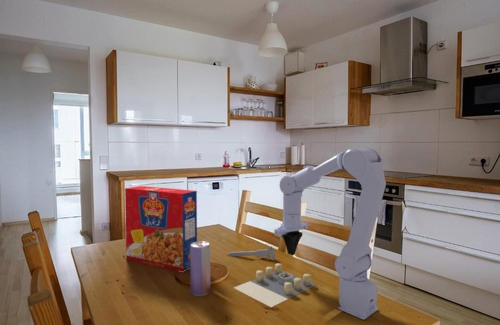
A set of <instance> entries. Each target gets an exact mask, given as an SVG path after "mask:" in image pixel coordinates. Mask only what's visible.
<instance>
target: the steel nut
mask: <svg viewBox="0 0 500 325" xmlns="http://www.w3.org/2000/svg"><path fill="white" fill-rule="evenodd" d="M288 273H289V272H286V273H279V275H278V283H280V284H282V285H284V283H285V282H291V283H292V281H293V275H294V274H291V273H289V274H288Z"/></svg>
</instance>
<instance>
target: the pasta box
mask: <svg viewBox="0 0 500 325" xmlns="http://www.w3.org/2000/svg"><path fill="white" fill-rule="evenodd" d="M197 193H198V192H197V190H192V189H191V190H189V189H179V188H167V187H158V186H157V187H155V186H147V185H146V186H145V185H138V186H137V185H136V186H132V187H125V188H124V199H125V201H124V203H125V206H124V207H125V250H126V251H125V252H126V254H125V255H126V257H125V259H126V260H127V261H132V262H135V263H140V264H144V265H149V266H153V267H157V268H162V269H166V270H169V271H174V272H177V271H179V270H180V271H184V270H186V269H188V268H190V247H191V243H193V242H198V217H197V216H198V214H197V213H198V211H197V210H198V206H197V203H198V199H197V198H198V197H197V196H198V195H197Z"/></svg>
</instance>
